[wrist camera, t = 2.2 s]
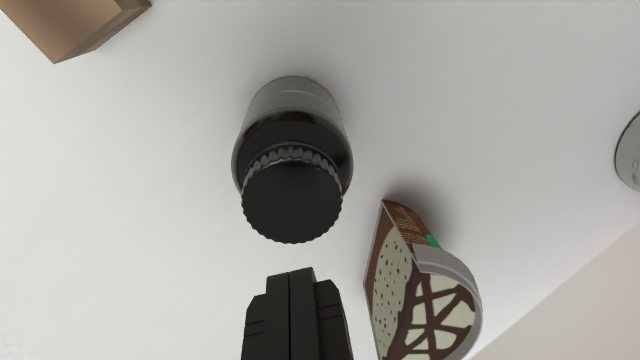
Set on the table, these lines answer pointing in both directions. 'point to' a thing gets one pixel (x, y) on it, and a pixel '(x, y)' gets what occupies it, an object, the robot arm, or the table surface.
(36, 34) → the walnut block
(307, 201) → the supplement bottle
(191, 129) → the table surface
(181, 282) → the table surface
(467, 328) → the food container
